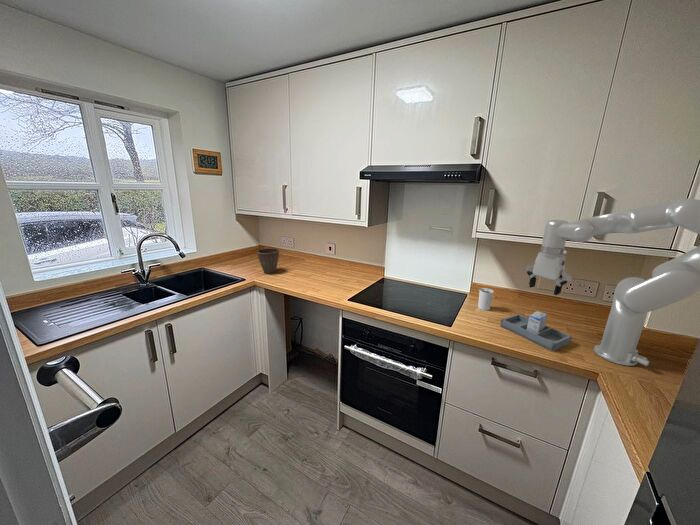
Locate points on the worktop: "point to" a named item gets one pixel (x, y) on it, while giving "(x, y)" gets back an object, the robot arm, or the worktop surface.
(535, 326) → the medicine box
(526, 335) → the organizer tray
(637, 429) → the worktop surface
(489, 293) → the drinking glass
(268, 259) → the plant pot
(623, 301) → the robot arm
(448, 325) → the worktop surface
